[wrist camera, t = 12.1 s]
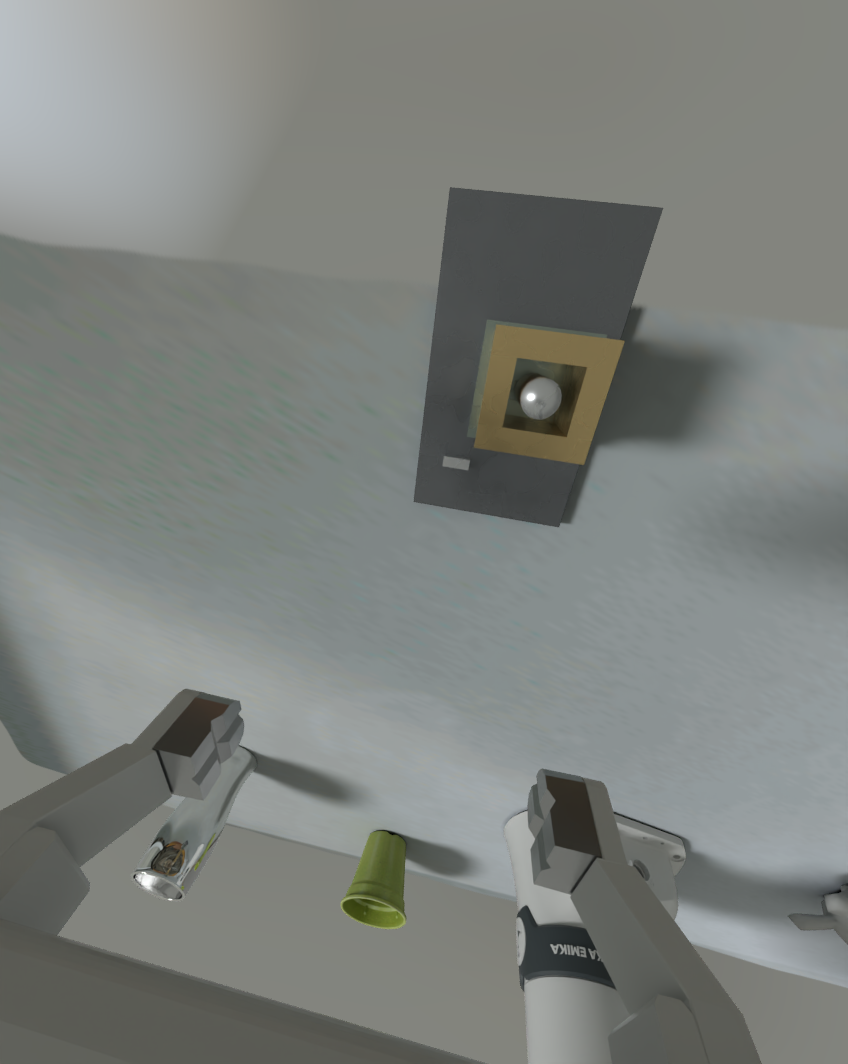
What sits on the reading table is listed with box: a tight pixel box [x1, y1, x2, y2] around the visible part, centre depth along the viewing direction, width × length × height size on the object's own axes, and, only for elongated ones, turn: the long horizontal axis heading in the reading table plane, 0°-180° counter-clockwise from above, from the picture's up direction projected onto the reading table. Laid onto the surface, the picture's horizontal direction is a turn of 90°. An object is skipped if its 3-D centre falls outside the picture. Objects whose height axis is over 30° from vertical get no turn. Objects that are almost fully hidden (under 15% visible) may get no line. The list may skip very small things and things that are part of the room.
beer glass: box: [130, 746, 257, 902], centre depth 48 cm, size 7×7×15 cm
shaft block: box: [414, 188, 663, 527], centre depth 22 cm, size 12×20×8 cm, turn 173°
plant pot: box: [340, 831, 406, 929], centre depth 54 cm, size 9×9×9 cm
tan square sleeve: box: [474, 324, 625, 465], centre depth 21 cm, size 6×6×5 cm
